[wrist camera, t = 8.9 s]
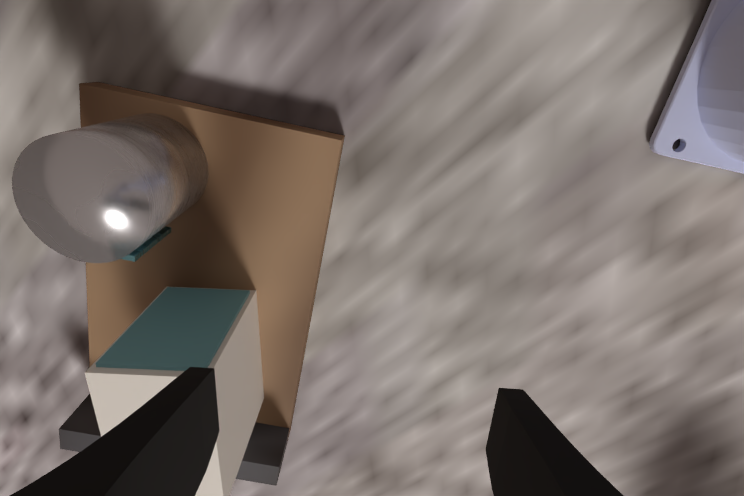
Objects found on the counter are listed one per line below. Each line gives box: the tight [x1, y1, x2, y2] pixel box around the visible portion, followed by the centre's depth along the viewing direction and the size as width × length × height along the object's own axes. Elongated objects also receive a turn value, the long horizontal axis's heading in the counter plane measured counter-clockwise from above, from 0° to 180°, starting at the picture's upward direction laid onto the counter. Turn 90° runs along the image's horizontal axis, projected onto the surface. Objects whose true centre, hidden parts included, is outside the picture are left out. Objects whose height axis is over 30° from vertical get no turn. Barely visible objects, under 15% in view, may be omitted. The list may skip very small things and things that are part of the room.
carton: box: [85, 287, 264, 496], centre depth 19 cm, size 6×4×6 cm, turn 178°
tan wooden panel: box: [59, 82, 345, 485], centre depth 20 cm, size 10×16×4 cm, turn 168°
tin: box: [12, 113, 208, 263], centre depth 16 cm, size 4×4×5 cm
